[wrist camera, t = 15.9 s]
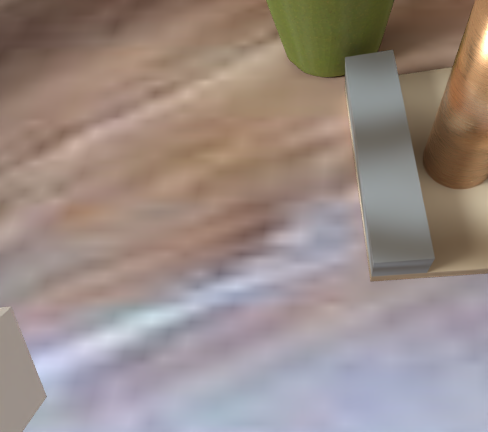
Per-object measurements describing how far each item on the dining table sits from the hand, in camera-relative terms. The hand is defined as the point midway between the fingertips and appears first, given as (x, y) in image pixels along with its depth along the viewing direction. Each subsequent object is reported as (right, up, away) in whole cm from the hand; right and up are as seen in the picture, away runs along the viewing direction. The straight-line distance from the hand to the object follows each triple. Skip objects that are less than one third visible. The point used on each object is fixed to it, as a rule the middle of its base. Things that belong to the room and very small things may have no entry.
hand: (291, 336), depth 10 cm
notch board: (+12, +6, +18) cm, 23 cm away
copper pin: (+12, +6, +17) cm, 22 cm away
